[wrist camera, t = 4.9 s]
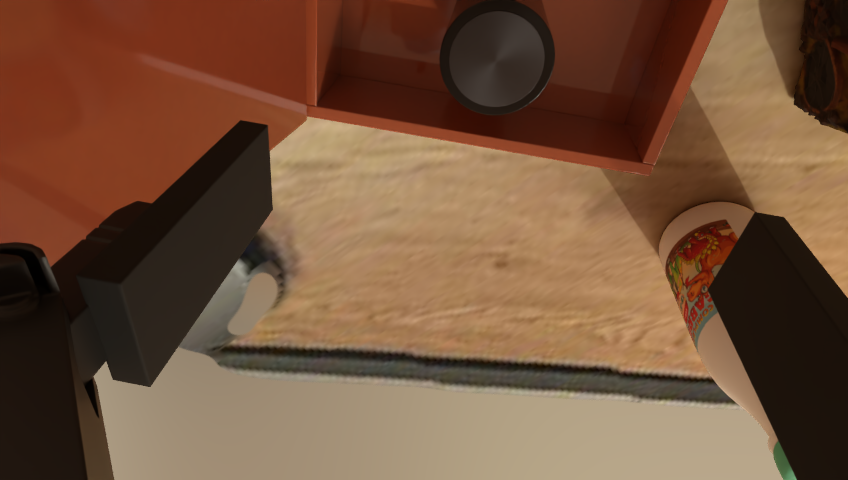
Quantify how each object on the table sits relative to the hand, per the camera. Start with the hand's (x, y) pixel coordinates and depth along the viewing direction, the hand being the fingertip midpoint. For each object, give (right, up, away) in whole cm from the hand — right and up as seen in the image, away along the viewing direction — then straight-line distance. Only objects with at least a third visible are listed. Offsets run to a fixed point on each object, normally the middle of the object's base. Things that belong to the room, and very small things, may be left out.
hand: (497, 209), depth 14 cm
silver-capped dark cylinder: (+3, +13, +19) cm, 23 cm away
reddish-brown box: (+3, +14, +19) cm, 24 cm away
